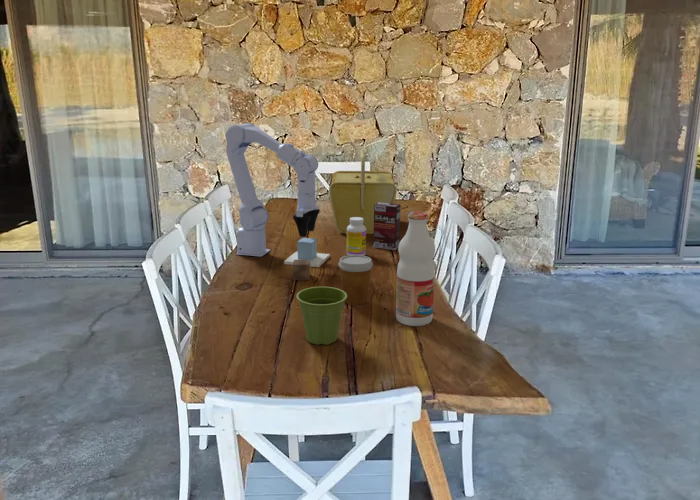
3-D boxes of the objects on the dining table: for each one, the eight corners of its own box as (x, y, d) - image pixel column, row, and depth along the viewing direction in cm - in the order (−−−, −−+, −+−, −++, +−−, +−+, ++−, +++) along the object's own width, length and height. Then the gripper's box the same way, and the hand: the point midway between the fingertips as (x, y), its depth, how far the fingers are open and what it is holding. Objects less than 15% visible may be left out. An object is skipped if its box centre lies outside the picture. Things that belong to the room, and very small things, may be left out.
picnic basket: (395, 235, 242) (398, 157, 234) (328, 235, 242) (328, 157, 234) (392, 218, 270) (393, 147, 262) (331, 217, 270) (331, 147, 262)
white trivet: (284, 264, 206) (283, 261, 206) (296, 254, 217) (296, 251, 217) (318, 267, 203) (318, 264, 203) (329, 256, 214) (329, 254, 214)
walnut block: (292, 280, 191) (292, 264, 190) (294, 274, 196) (294, 259, 195) (309, 280, 191) (309, 264, 190) (310, 275, 196) (310, 259, 195)
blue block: (297, 259, 208) (297, 241, 207) (302, 254, 213) (302, 237, 211) (312, 260, 207) (311, 242, 206) (316, 256, 212) (316, 238, 210)
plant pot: (288, 345, 146) (287, 300, 143) (309, 326, 157) (309, 284, 154) (335, 353, 142) (335, 307, 139) (354, 333, 153) (354, 290, 150)
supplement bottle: (363, 258, 213) (364, 221, 210) (344, 257, 215) (344, 220, 211) (367, 252, 220) (367, 216, 216) (348, 251, 221) (349, 215, 217)
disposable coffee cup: (376, 297, 177) (377, 256, 174) (366, 309, 169) (366, 266, 165) (344, 293, 180) (344, 253, 177) (333, 304, 172) (333, 262, 168)
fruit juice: (401, 310, 167) (405, 208, 160) (436, 316, 164) (441, 211, 156) (390, 323, 159) (393, 215, 151) (427, 329, 156) (432, 219, 148)
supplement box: (372, 247, 226) (373, 204, 221) (377, 244, 230) (378, 201, 225) (395, 250, 223) (396, 206, 218) (399, 247, 227) (401, 203, 222)
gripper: (311, 198, 196) (311, 240, 200) (325, 189, 210) (324, 229, 214) (289, 196, 198) (290, 238, 202) (304, 188, 211) (305, 227, 215)
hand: (306, 233), depth 208 cm, fingers open, 7 cm apart
